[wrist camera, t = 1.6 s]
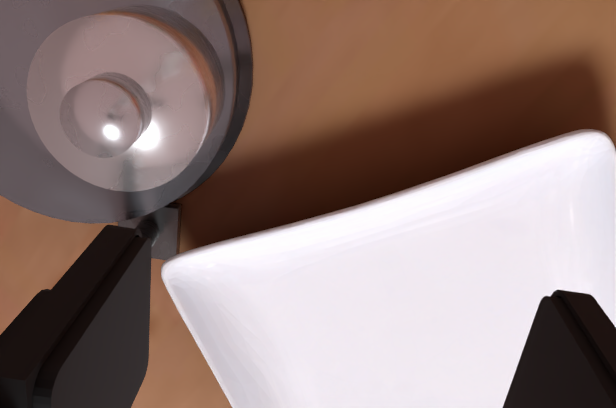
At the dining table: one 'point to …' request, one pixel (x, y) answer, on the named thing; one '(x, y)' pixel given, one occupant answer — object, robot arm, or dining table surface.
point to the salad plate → (406, 285)
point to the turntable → (32, 152)
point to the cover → (126, 96)
